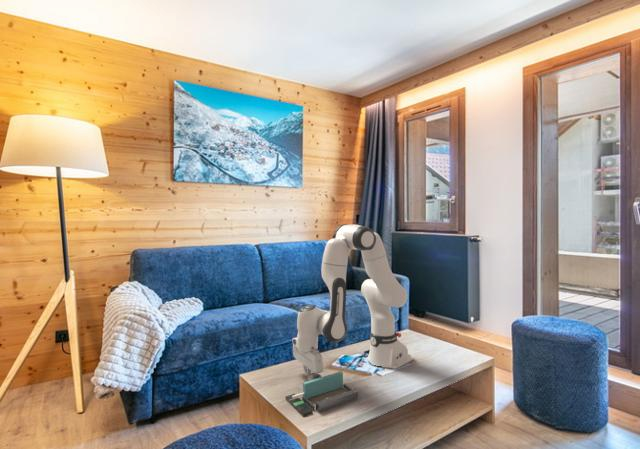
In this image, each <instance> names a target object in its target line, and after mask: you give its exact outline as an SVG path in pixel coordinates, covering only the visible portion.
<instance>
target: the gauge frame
mask: <svg viewBox="0 0 640 449" xmlns="http://www.w3.org/2000/svg"><path fill="white" fill-rule="evenodd" d="M342 388H343V389H345V390H346V391H345V392H341V393H339V394H336V395H332V396H330V397H329V396H328V397H327V398H324V399H321V400H318V401H315V405H314V404H313V403H312V402H311V401H310V400H308V398H307V399H306V398H305V397H303V396H301V398H300V396H298V397H295V398H292V396H293V395H296V393H292V394H288V395H286V396H285V400H286V401H287V402H288V403H289V404H290V405H291V406H292V407H293V409H294V410H296V411H297V412H298V414H300V415H301V416H302V417H306V416H309V415H311V414H312V415H313V414H314V411H316V412H317V413H318V414H320V413H323V412H327V411H329V410H332V409H335V408H338V407H340V406H342V405H343V406H344V405H345V404H349V403H352V402H354V401H357V400H359V391H358V390H357V389H355V388H352V387H351V386H350V385H348V384H346V383H343V387H342Z"/></svg>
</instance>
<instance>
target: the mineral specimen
mask: <svg viewBox="0 0 640 449" xmlns="http://www.w3.org/2000/svg"><path fill="white" fill-rule="evenodd" d="M320 377H322V375H321V374H320V373H318V374H315V373H314V372H311V374H310V376H309V377H308V376H307V381H310V380H314V379H317V378H320Z"/></svg>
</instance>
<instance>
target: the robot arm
mask: <svg viewBox="0 0 640 449" xmlns="http://www.w3.org/2000/svg"><path fill="white" fill-rule="evenodd" d="M352 250H356V251H357V250H358V251H360V253H361V257H362V260H363V264H364V270H365V272H366V275H367V276H368V277H369V278H367V279H365V280H364V281H363V282H362V284H361V288H360V291H361V292H360V293H361V295H362V296H363V298H364V299H365V301H366V303H367V306H368V309H369V313H370V322H371V324H370V329H371V330H370V334H369V335H370V337H369V340H370V345H369V353H368V357H367V361H368V360H369V361H370V362H371V363H373V364H375V365H378V366H382V367H381V368H387V369H388V368H389V369H395V370H396V369H398V368H400V367H402V366H404V365H405V364H408V363H410V362H412V361H413V360H414V357H413V356H412V355H411V354H409V351H408V348H407V346H406V345H405V343H403V342H401V341H400V340H399V339H398V338H401V337H402V333H400V332H396V331H395V322H396V321H395V315H394V314H393V312H392V311H391V309H390V308H402V307H403V306H404V305H405V304H406V302H407V300H408V292H407V290H406V288H405V287H403V286H402V285H401V283H400V282H399V281H398V280H397V278H396V276H395V275H394V273H393V272H392V270H391V267H390V263H389V260H388V256H387V252H386V248H385V246H384V243H383V240H382V238H381V236H380V234H379V233H377V232H375V231H373V230H372V229H371V228H370V227H368V226H366V225H359V224H355V223H354V224H347V223H345V224H341V225H339V226H337V227H336V229H335V231H334V233H333V236H332V238H331V239H329V240H328V241H327V242H326V244H325V247H324V251H323V255H322V260H321V261H322V262H321V268H320V270H321V272H320V273H321V279H322V280H323V282H324V283H325V285H326V287H327V288H328V291H329V294H330V302H329V304H330V305H329V306H330V307H329V310H325V309H321V308H319V307H317V306H316V305H314V304H307V305H303V306H302V307H300V308H299V310H298V313H297V320H296V321H297V322H296V328H297V335H296V336H297V337H292V340H291V341H292V354H293V357H294V359H296V360H297V361H298V362H300V363H301V364H302V368H303V371H304V372H303V373H304V375H306V377H307V378H308V377H309V376H310V374H311V373H315V374H320V373H323V371H324V364H323V363H324V361H323V356H322V354H321V353H320V351H319V349H318V348H319V346H318V345H319V343H318V342H319V335H322V336H323V337H324V338H325V339H326V341H327V342H328V343H332V344H335V343H336V344H337V343H339V342H341V341H343V339H344V338H345V337H346V335H347V333H348V326H347V321H346V306H347V305H346V302H347V272H348V271H347V270H348V263H349V262H348V261H349V255H350V253H351V251H352Z"/></svg>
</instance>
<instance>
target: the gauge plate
mask: <svg viewBox="0 0 640 449" xmlns="http://www.w3.org/2000/svg"><path fill="white" fill-rule="evenodd" d="M343 374H344V373H343V372H342V371H338V372H335V373H332V374H328V375H324V376H321V377H320V378H317V379H314V380H310V381H308V380H307V381H304V382H302V392H300V393H298V394H295V395H293V396H292V398H295V397H305V398H306V399H307V400H308V399H310V398H313V397H315V396H316V397H317V396H319V395H322V394H326V393H329V392H331V391H335V390H338V389H342V388H344V387H343V384H344V375H343Z"/></svg>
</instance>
